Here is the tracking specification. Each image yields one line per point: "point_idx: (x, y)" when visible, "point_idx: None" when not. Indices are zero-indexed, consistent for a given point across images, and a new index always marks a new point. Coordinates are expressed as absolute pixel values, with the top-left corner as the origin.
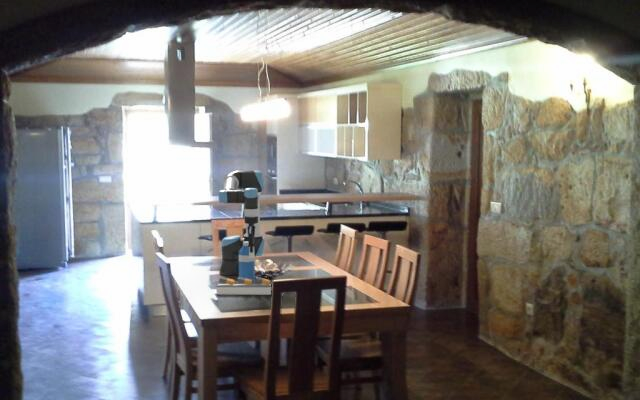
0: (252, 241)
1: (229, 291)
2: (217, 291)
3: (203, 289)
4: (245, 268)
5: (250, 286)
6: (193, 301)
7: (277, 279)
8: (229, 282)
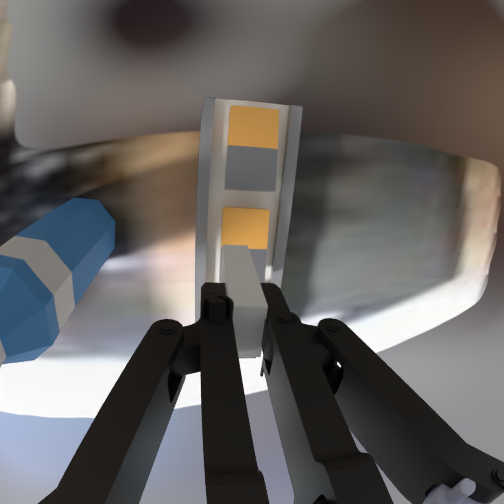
0: (382, 365)
1: None
2: None
3: None
4: (86, 268)
5: (290, 209)
6: None
7: (11, 110)
8: None
